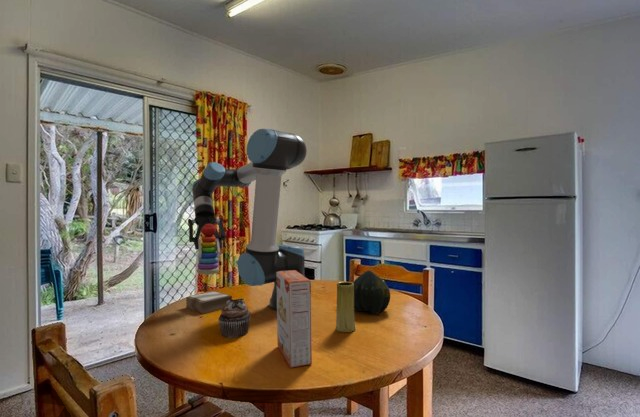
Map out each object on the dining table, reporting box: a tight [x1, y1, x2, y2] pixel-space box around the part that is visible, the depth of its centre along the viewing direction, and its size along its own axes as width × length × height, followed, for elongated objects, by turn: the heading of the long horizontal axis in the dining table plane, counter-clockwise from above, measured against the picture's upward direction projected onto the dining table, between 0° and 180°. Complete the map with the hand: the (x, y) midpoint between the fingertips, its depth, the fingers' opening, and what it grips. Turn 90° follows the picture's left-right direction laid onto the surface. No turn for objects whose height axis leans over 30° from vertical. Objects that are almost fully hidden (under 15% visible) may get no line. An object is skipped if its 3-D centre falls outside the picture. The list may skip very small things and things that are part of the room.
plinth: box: [185, 290, 233, 315], centre depth 136 cm, size 12×12×4 cm
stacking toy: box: [196, 224, 220, 276], centre depth 135 cm, size 8×8×19 cm
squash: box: [352, 269, 391, 315], centre depth 130 cm, size 14×15×15 cm
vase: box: [335, 281, 356, 333], centre depth 111 cm, size 6×6×14 cm
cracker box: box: [276, 270, 313, 369], centre depth 92 cm, size 14×6×21 cm, turn 19°
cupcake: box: [217, 298, 252, 339], centre depth 108 cm, size 10×10×10 cm
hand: (209, 254), depth 132 cm, fingers closed on stacking toy, 6 cm apart
